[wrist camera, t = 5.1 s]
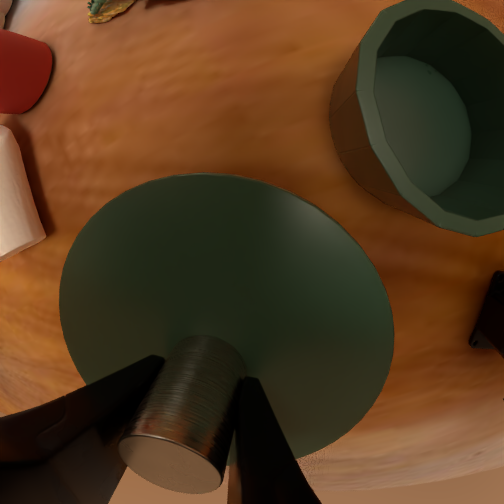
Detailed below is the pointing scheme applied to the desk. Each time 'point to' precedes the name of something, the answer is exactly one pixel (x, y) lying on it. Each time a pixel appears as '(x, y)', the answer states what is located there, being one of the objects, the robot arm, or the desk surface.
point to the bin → (427, 115)
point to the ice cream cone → (4, 10)
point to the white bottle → (15, 201)
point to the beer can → (22, 71)
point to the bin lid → (225, 318)
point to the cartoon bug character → (106, 9)
